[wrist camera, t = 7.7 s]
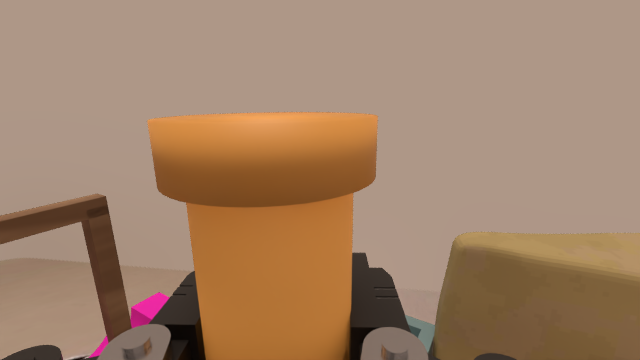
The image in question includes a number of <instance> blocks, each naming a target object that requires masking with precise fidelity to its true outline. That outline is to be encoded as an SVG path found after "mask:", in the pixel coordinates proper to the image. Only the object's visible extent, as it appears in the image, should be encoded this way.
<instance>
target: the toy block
mask: <svg viewBox="0 0 640 360" xmlns="http://www.w3.org/2000/svg"><path fill="white" fill-rule="evenodd" d="M168 299H169V297H167V296H165V295H164V294H162V293H160V292H159V293H157V294H155V295H153V296H151V297H149V298H147V299H146V300H144V301H142V302H140V303H138V304H136V305H135V306H133V307H131V320H130V321H131V326H132V328H135V327H138V326H141V325H147V324H149V322H150V321H151V320H152V319H153V318H154V316H155V315H156V314H157V313H158V311H159V310H160V309H161V308H162V306H163V305H164V304H165V303H166V302H167V300H168ZM107 344H108V339H107V336H106V337H105V339H104V340H103V342H102V343H101V344H100V346H99V347H98V348H97V349H96V351H95V352H94V353H93V354H92V355H91V356H90V357H95V356H99V355H100V354H101V352H102V351H103V349H104V348H105V347H106V346H107ZM90 357H89V358H90Z"/></svg>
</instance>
